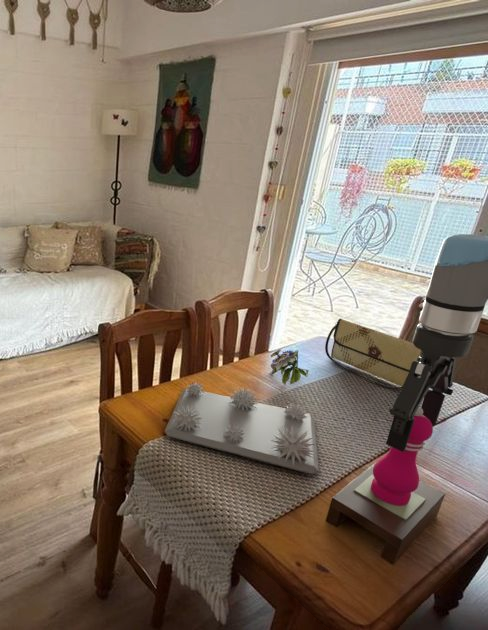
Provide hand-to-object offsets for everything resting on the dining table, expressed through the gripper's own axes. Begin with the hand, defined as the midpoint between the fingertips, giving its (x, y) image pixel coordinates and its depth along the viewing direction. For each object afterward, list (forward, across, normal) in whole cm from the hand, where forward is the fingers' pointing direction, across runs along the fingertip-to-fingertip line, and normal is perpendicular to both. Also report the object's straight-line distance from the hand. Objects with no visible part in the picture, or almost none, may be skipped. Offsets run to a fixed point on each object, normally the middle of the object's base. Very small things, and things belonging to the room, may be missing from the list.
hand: (411, 434), depth 81 cm
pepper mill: (+14, 0, 0) cm, 14 cm away
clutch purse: (+21, -62, -31) cm, 72 cm away
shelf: (+20, 0, 0) cm, 20 cm away
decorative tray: (+20, -1, -34) cm, 40 cm away
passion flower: (+20, -39, -44) cm, 62 cm away
